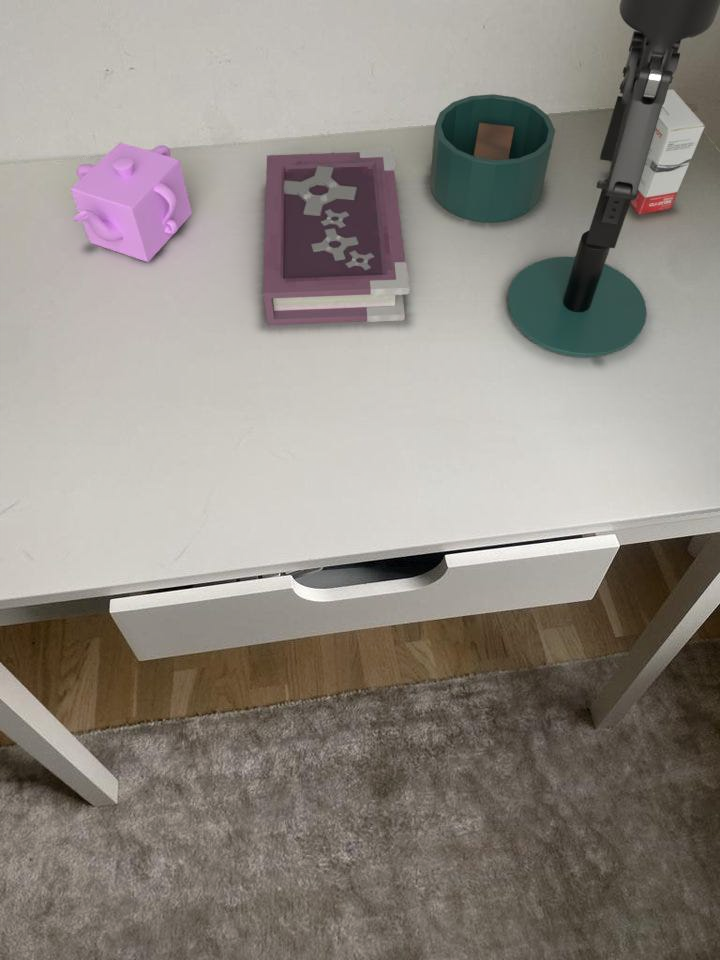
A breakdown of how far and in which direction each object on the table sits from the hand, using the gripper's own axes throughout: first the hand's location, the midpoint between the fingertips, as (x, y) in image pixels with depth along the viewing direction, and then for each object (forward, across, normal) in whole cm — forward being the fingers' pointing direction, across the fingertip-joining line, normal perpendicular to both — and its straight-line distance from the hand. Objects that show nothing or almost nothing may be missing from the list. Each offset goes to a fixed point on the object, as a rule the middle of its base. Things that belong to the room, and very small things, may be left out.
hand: (606, 200), depth 77 cm
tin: (+15, -20, -14) cm, 28 cm away
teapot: (+15, +1, -55) cm, 57 cm away
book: (+15, -3, -30) cm, 34 cm away
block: (+13, -21, -14) cm, 28 cm away
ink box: (+15, -24, +6) cm, 29 cm away
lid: (+14, 0, 0) cm, 14 cm away
